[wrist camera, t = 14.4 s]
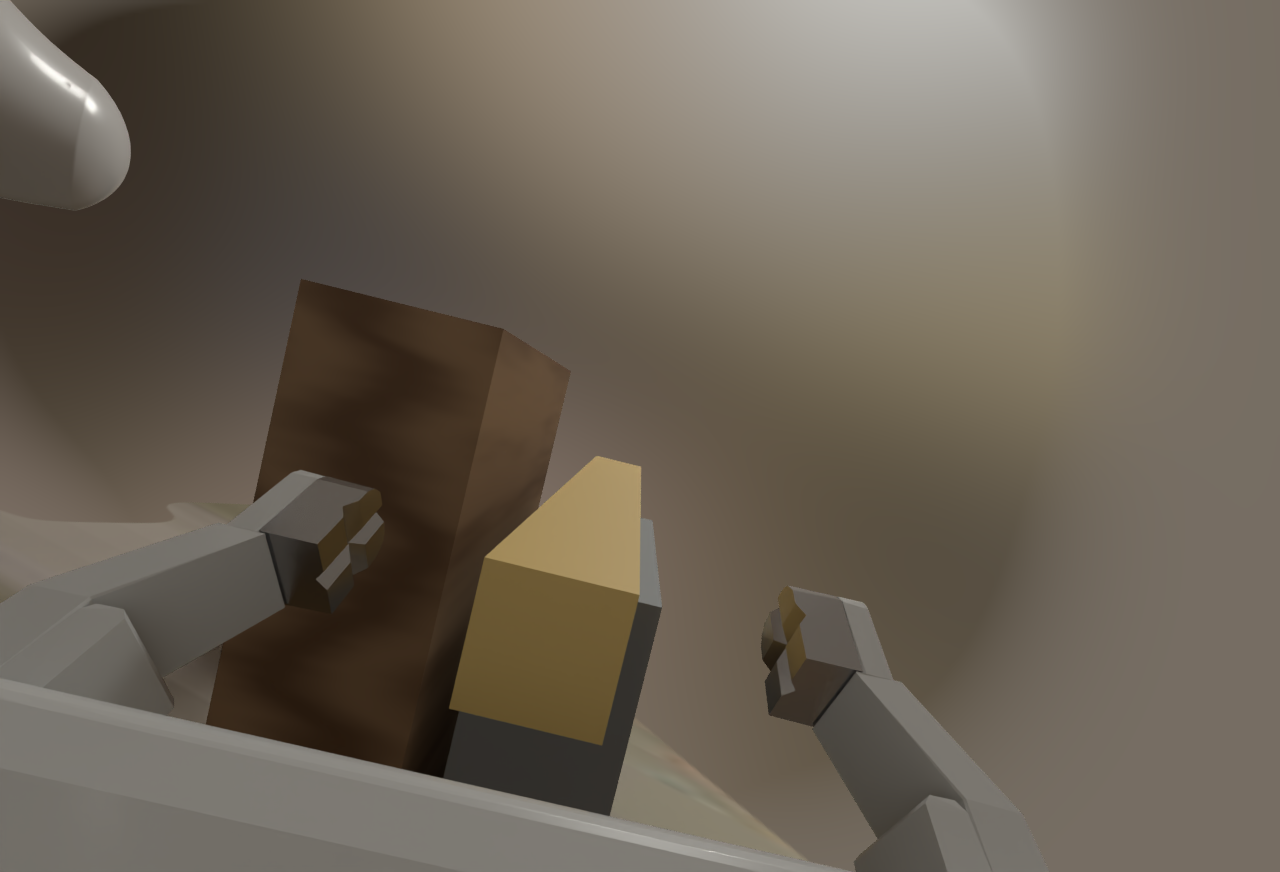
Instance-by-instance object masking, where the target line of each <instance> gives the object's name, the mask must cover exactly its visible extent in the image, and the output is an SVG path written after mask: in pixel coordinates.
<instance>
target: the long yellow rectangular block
mask: <svg viewBox="0 0 1280 872" xmlns="http://www.w3.org/2000/svg"><path fill="white" fill-rule="evenodd" d="M640 515H641V467H640V466H635V465H632V464H628V463H623V462H619V461H615V460H611V459H607V458H603V457H599V456H596V457H595V458H594V459H593V460H592V461H591V462H589V463H588V464H587V465H586V466H585V467H584V468H583V469H582V470H581V471H579V472H578V473H577V474H576V475H575V476H574V477H573V478H572V479H570V481H568V482H567V483H566V484H565V485H564V486H563V487H562V488H561V489H559V491H557V492H556V493H555V494H554V495H553V496H552V497H551V498H550V499H548V500H547V501H546V502H545V503H544V504H543V505H542V506H541V507H540V508H538V509H537V510H536V511H535V512H534V513H533V514H532V515H531V516H529V517H528V518H527V519H526V520H525V521H524V522H523V523H522V524H521V525H519V526H518V527H517V528H516V529H515V530H514V531H513V532H512V533H511V534H510V535H508V536H507V537H506V538H505V539H504V540H503V541H502V542H501V543H500V544H498V545H497V546H496V547H495V548H494V549H493V550H492V551H491V552H490V553H488V554H487V555H486V556H485V557H484V561H483V565H482V570H481V574H480V578H479V582H478V587H477V591H476V595H475V599H474V604H473V608H472V612H471V616H470V621H469V625H468V629H467V633H466V638H465V642H464V646H463V650H462V655H461V659H460V663H459V667H458V672H457V676H456V680H455V684H454V689H453V693H452V697H451V701H450V706H449V709H453V710H457V711H461V712H465V713H469V714H473V715H478V716H482V717H486V718H490V719H494V720H498V721H502V722H507V723H511V724H515V725H519V726H523V727H527V728H531V729H536V730H540V731H544V732H548V733H552V734H556V735H560V736H565V737H569V738H573V739H577V740H581V741H585V742H589V743H594V744H598V745H602V744H603V740H604V736H605V732H606V728H607V724H608V720H609V716H610V712H611V708H612V704H613V700H614V696H615V692H616V688H617V684H618V680H619V676H620V672H621V668H622V664H623V660H624V656H625V652H626V648H627V644H628V640H629V636H630V632H631V628H632V624H633V620H634V616H635V612H636V608H637V604H638V600H639V596H640V517H641V516H640Z"/></svg>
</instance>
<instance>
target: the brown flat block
mask: <svg viewBox="0 0 1280 872" xmlns="http://www.w3.org/2000/svg"><path fill="white" fill-rule="evenodd" d="M569 377H570V370H568V369H566V368H565V367H563V366H561V365H560V364H558V363H557V362H555V361H554V360H552V359H550V358H549V357H547V356H546V355H544V354H542V353H541V352H539V351H538V350H536V349H534V348H533V347H531V346H530V345H528V344H527V343H525V342H523V341H522V340H520V339H518V338H517V337H515V336H514V335H512V334H511V333H509V332H507V331H506V330H504V329H501V328H497V327H493V326H489V325H485V324H481V323H477V322H472V321H469V320H465V319H461V318H457V317H453V316H449V315H445V314H441V313H436V312H433V311H428V310H424V309H420V308H416V307H412V306H408V305H404V304H400V303H396V302H392V301H388V300H384V299H380V298H375V297H372V296H367V295H363V294H360V293H355V292H352V291H348V290H343V289H339V288H335V287H331V286H327V285H323V284H319V283H315V282H311V281H307V280H302V279H301V282H300V286H299V291H298V296H297V301H296V305H295V310H294V315H293V319H292V324H291V328H290V333H289V338H288V343H287V347H286V352H285V357H284V362H283V366H282V371H281V375H280V380H279V385H278V389H277V394H276V399H275V403H274V408H273V413H272V417H271V422H270V427H269V431H268V436H267V441H266V446H265V451H264V455H263V460H262V464H261V469H260V474H259V479H258V483H257V488H256V492H255V497H254V502H255V501H257V500H258V499H259V498H260V497H261V496H263V495H264V494H265V493H266V492H268V491H269V490H270V489H271V488H273V487H274V486H275V485H276V484H278V483H279V482H280V481H281V480H283V479H284V478H285V477H286V476H288V475H289V474H290V473H292V472H295V471H299V470H303V471H307V472H311V473H314V474H318V475H322V476H328V477H332V478H336V479H339V480H343V481H347V482H351V483H355V484H359V485H362V486H366V487H370V488H374V489H376V490H378V491H380V493H381V499H382V506H381V507H380V508H379V509H378V510H377V512H376V513H377V514H378V515H379V516H380V517H381V519H382V520H383V521H384V528H385V532H384V539H383V543H382V545H381V548H380V550H379V552H378V554H377V557H376V558H375V559H374V561H373V562H372V563H371V565H370V566H369V567H368V568H367V569H365V570H362V571H360V572H358V573H356V574H354V575H353V580H354V586H353V588H352V589H351V590H350V592H349V593H348V594H347V595H346V597H345V598H344V599H343V600H342V602H341V603H340V604H339V605H338V607H337V608H336V609H335V611H334V612H333V613H332V614H329V613H324V612H319V611H314V610H309V609H304V608H299V607H294V606H289V605H285V608H283V609H282V610H280V611H278V612H276V613H275V614H273V615H271V616H269V617H268V618H266V619H264V620H262V621H261V622H259V623H257V624H255V625H254V626H252V627H250V628H248V629H247V630H245V631H243V632H241V633H240V634H238V635H236V636H234V637H233V638H231V639H229V640H227V641H226V642H224V643H223V647H222V651H221V656H220V661H219V666H218V670H217V675H216V680H215V684H214V689H213V694H212V698H211V703H210V708H209V712H208V717H207V722H206V725H210V726H215V727H219V728H223V729H228V730H232V731H237V732H241V733H245V734H250V735H254V736H259V737H263V738H267V739H272V740H276V741H281V742H285V743H290V744H294V745H298V746H303V747H307V748H312V749H316V750H320V751H325V752H329V753H334V754H338V755H342V756H347V757H351V758H356V759H360V760H364V761H369V762H373V763H378V764H382V765H387V766H391V767H395V768H400V769H404V770H409V771H413V772H417V773H422V774H426V775H431V776H435V777H439V778H443V777H444V773H445V768H446V764H447V760H448V756H449V752H450V747H451V743H452V739H453V735H454V730H455V726H456V722H457V718H458V713H459V711H457V710H453V709H449V706H450V701H451V697H452V693H453V689H454V684H455V680H456V676H457V672H458V667H459V663H460V659H461V655H462V650H463V646H464V642H465V638H466V633H467V629H468V625H469V621H470V616H471V612H472V608H473V604H474V599H475V595H476V591H477V587H478V582H479V578H480V574H481V570H482V565H483V561H484V557H485V556H486V555H487V554H488V553H490V552H491V551H492V550H493V549H494V548H495V547H496V546H497V545H498V544H500V543H501V542H502V541H503V540H504V539H505V538H506V537H507V536H508V535H510V534H511V533H512V532H513V531H514V530H515V529H516V528H517V527H518V526H519V525H521V524H522V523H523V522H524V521H525V520H526V519H527V518H528V517H529V516H531V515H532V514H533V513H534V512H535V511H536V510H537V509H538V507H539V502H540V498H541V494H542V490H543V486H544V481H545V477H546V473H547V469H548V465H549V461H550V457H551V452H552V448H553V444H554V440H555V436H556V431H557V427H558V423H559V419H560V415H561V410H562V406H563V402H564V398H565V394H566V389H567V385H568V381H569ZM254 502H253V503H254Z"/></svg>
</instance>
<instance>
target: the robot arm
mask: <svg viewBox="0 0 1280 872" xmlns="http://www.w3.org/2000/svg"><path fill="white" fill-rule="evenodd" d="M130 156H131V148H130V140H129V135H128V131H127V128H126V125H125V123H124V120H123V118H122V116H121V113H120V112H119V110H118V108H117V106H116V104H115V103H114V101H113V100H112V98H111V97H110V96H109V94H108V92H107V91H106V90H105V89H104V87H103V86H102V85H101V84H100V82H99V81H98V80H97V79H96V78H94V77H93V76H92V75H90V74H89V73H88V72H86V71H85V70H84V69H83V68H81V67H80V66H79V65H77V64H76V63H75V62H74V61H73V60H71V59H70V58H69V57H68V56H66V55H65V54H64V53H63V52H62V51H61V50H60V49H58V48H57V47H56V46H55V45H54V44H53V43H51V42H50V41H49V40H48V39H47V38H46V37H45V36H44V35H43V34H42V33H41V32H40V31H39V30H38V29H37V28H35V26H34V25H33V24H32V23H31V22H30V21H29V20H28V19H27V18H26V17H25V16H24V15H23V14H22V13H21V12H20V11H19V10H18V8H17V7H15V5H14V4H13V3H12V2H11V1H10V0H0V198H6V199H11V200H15V201H21V202H26V203H32V204H38V205H44V206H51V207H57V208H63V209H70V210H79V209H83V208H86V207H89V206H91V205H94V204H96V203H98V202H100V201H102V200H103V199H105V198H107V197H108V196H109V195H110V194H112V193H113V192H114V191H115V190H116V189H117V188H118V187H119V186H120V184H121V183H122V181H123V180H124V178H125V176H126V173H127V171H128V168H129V164H130ZM381 506H382V499H381V493H380V491H378V490H376V489H374V488H370V487H366V486H362V485H359V484H355V483H351V482H347V481H343V480H339V479H336V478H332V477H328V476H322V475H318V474H314V473H311V472H307V471H303V470H299V471H295V472H292V473H290V474H289V475H288V476H286V477H285V478H284V479H283V480H281V481H280V482H279V483H278V484H276V485H275V486H274V487H273V488H271V489H270V490H269V491H268V492H266V493H265V494H264V495H263V496H261V497H260V498H259V499H258V500H257V501H255V502H254V503H253V504H252V505H250V506H249V507H248V508H247V509H245V510H244V511H243V512H242V513H240V514H239V515H238V516H237V517H235V518H234V519H233V520H232V521H230V522H229V523H228V524H222V523H216V524H213V525H210V526H207V527H204V528H201V529H198V530H194V531H191V532H188V533H185V534H182V535H179V536H176V537H173V538H170V539H167V540H164V541H161V542H158V543H155V544H152V545H149V546H146V547H143V548H140V549H136V550H133V551H130V552H127V553H124V554H121V555H118V556H115V557H112V558H109V559H106V560H103V561H100V562H97V563H94V564H91V565H88V566H85V567H82V568H79V569H75V570H72V571H69V572H66V573H63V574H60V575H57V576H54V577H51V578H48V579H45V580H42V581H39V582H36V583H33V584H30V585H28V586H26V587H25V588H23V589H22V590H20V591H19V592H17V593H16V594H14V595H13V596H11V597H10V598H8V599H7V600H5V601H4V602H2V603H1V604H0V872H853V871H848V870H843V869H839V868H835V867H830V866H826V865H822V864H817V863H813V862H809V861H804V860H800V859H795V858H791V857H787V856H782V855H778V854H773V853H769V852H765V851H760V850H756V849H751V848H747V847H743V846H738V845H734V844H729V843H725V842H721V841H716V840H712V839H707V838H703V837H699V836H694V835H690V834H685V833H681V832H677V831H672V830H668V829H663V828H659V827H655V826H650V825H646V824H642V823H637V822H633V821H628V820H624V819H620V818H615V817H611V816H606V815H602V814H598V813H593V812H589V811H584V810H580V809H576V808H571V807H567V806H562V805H558V804H554V803H549V802H545V801H540V800H536V799H532V798H527V797H523V796H518V795H514V794H510V793H505V792H501V791H496V790H492V789H488V788H483V787H479V786H474V785H470V784H466V783H461V782H457V781H453V780H448V779H444V778H439V777H435V776H431V775H426V774H422V773H417V772H413V771H409V770H404V769H400V768H395V767H391V766H387V765H382V764H378V763H373V762H369V761H364V760H360V759H356V758H351V757H347V756H342V755H338V754H334V753H329V752H325V751H320V750H316V749H312V748H307V747H303V746H298V745H294V744H290V743H285V742H281V741H276V740H272V739H267V738H263V737H259V736H254V735H250V734H245V733H241V732H237V731H232V730H228V729H223V728H219V727H215V726H210V725H206V724H201V723H197V722H193V721H188V720H184V719H179V718H175V717H170V716H167V715H168V714H169V712H170V711H171V710H172V709H173V708H174V698H173V696H172V695H171V693H170V691H169V689H168V687H167V686H166V684H165V682H164V680H163V677H165V676H166V675H168V674H170V673H172V672H173V671H175V670H177V669H179V668H180V667H182V666H184V665H186V664H187V663H189V662H191V661H193V660H194V659H196V658H198V657H200V656H201V655H203V654H205V653H207V652H208V651H210V650H212V649H214V648H215V647H217V646H219V645H220V644H222V643H224V642H226V641H227V640H229V639H231V638H233V637H234V636H236V635H238V634H240V633H241V632H243V631H245V630H247V629H248V628H250V627H252V626H254V625H255V624H257V623H259V622H261V621H262V620H264V619H266V618H268V617H269V616H271V615H273V614H275V613H276V612H278V611H280V610H282V609H283V608H285V605H289V606H294V607H299V608H304V609H309V610H314V611H319V612H324V613H329V614H332V613H333V612H334V611H335V609H336V608H337V607H338V605H339V604H340V603H341V602H342V600H343V599H344V598H345V597H346V595H347V594H348V593H349V592H350V590H351V589H352V588H353V586H354V580H353V575H354V574H356V573H358V572H360V571H362V570H365V569H367V568H368V567H369V566H370V565H371V563H372V562H373V561H374V559H375V558H376V557H377V554H378V552H379V550H380V548H381V545H382V543H383V539H384V532H385V528H384V521H383V520H382V519H381V517H380V516H379V515H378V514H377V513H376V512H377V510H378V509H379V508H380V507H381ZM778 602H779V608H778V609H776V610H774V611H772V612H770V613H769V616H768V618H767V619H766V622H765V624H764V629H763V633H762V643H761V650H762V659H763V661H764V663H765V664H766V665H767V667H768V668H769V669H770V671H771V672H770V674H769V675H768V677H767V679H766V680H765V686H766V695H767V703H768V711H769V715H770V716H774V717H777V718H781V719H785V720H789V721H793V722H797V723H801V724H805V725H808V726H813V731H814V733H815V734H816V736H817V738H818V740H819V741H820V743H821V745H822V746H823V748H824V750H825V751H826V753H827V755H828V756H829V758H830V760H831V761H832V763H833V765H834V766H835V768H836V770H837V771H838V773H839V775H840V776H841V778H842V780H843V782H844V783H845V785H846V787H847V788H848V790H849V791H850V793H851V795H852V796H853V798H854V800H855V802H856V803H857V805H858V806H859V808H860V810H861V812H862V813H863V815H864V817H865V818H866V820H867V822H868V823H869V825H870V827H871V828H872V830H873V832H874V833H875V835H876V837H877V838H878V839H877V840H876V841H875V842H874V843H873V844H872V845H870V846H869V847H868V848H867V849H866V850H864V851H863V852H862V853H861V854H860V855H859V856H858V857H857V858H856V860H855V861H854V865H855V870H856V872H1049V869H1048V867H1047V865H1046V864H1045V861H1044V859H1043V857H1042V854H1041V852H1040V850H1039V848H1038V846H1037V844H1036V842H1035V840H1034V837H1033V835H1032V833H1031V831H1030V829H1029V827H1028V825H1027V823H1026V821H1025V818H1024V816H1023V814H1022V813H1021V812H1020V811H1019V810H1018V809H1017V808H1016V807H1015V805H1013V803H1012V802H1011V801H1010V800H1009V799H1008V798H1007V797H1006V796H1005V795H1004V794H1003V792H1002V791H1001V790H999V788H998V787H997V786H996V785H995V784H994V783H993V782H992V781H991V779H989V777H988V776H987V775H986V774H985V773H984V772H983V771H982V770H981V768H979V766H978V765H977V764H976V763H975V762H974V761H973V760H972V759H971V758H970V757H969V756H968V754H967V753H966V752H965V751H964V750H963V749H962V748H961V747H960V746H959V745H958V744H957V742H956V741H955V740H954V739H953V738H952V737H951V736H950V735H949V734H948V733H947V731H945V729H944V728H943V727H942V726H941V725H940V724H939V723H938V722H937V721H936V720H935V718H934V717H933V716H932V715H931V714H930V713H929V712H928V711H927V710H926V709H925V708H924V706H923V705H922V704H921V703H920V702H919V701H918V700H917V699H916V698H915V697H914V696H913V695H912V693H910V691H909V690H908V689H907V688H906V687H905V686H904V685H903V684H902V682H899V681H895V680H893V678H892V675H891V672H890V669H889V667H888V664H887V661H886V658H885V656H884V653H883V650H882V647H881V644H880V641H879V639H878V636H877V633H876V630H875V628H874V625H873V622H872V619H871V616H870V613H869V611H868V608H867V607H866V605H865V604H864V603H862V602H859V601H854V600H850V599H845V598H841V597H835V596H832V595H827V594H823V593H818V592H814V591H809V590H805V589H800V588H796V587H792V586H786V587H785V588H784V589H783V590H782V591H781V594H780V595H779V597H778Z"/></svg>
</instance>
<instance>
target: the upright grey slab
mask: <svg viewBox="0 0 1280 872" xmlns="http://www.w3.org/2000/svg"><path fill="white" fill-rule="evenodd" d="M661 609H662V603H661V594H660V585H659V576H658V567H657V559H656V550H655V540H654V531H653V523H652V520H648V519H644V518H640V596H639V600H638V604H637V608H636V612H635V616H634V620H633V624H632V628H631V632H630V636H629V640H628V644H627V648H626V652H625V656H624V660H623V664H622V668H621V672H620V676H619V680H618V684H617V688H616V692H615V696H614V700H613V704H612V708H611V712H610V716H609V720H608V724H607V728H606V732H605V736H604V740H603V744H602V745H598V744H594V743H589V742H585V741H581V740H577V739H573V738H569V737H565V736H560V735H556V734H552V733H548V732H544V731H540V730H536V729H531V728H527V727H523V726H519V725H515V724H511V723H507V722H502V721H498V720H494V719H490V718H486V717H482V716H478V715H473V714H469V713H465V712H461V711H459V713H458V718H457V722H456V726H455V730H454V735H453V739H452V743H451V747H450V752H449V756H448V760H447V764H446V768H445V773H444V777H443V778H444V779H448V780H453V781H457V782H461V783H466V784H470V785H474V786H479V787H483V788H488V789H492V790H496V791H501V792H505V793H510V794H514V795H518V796H523V797H527V798H532V799H536V800H540V801H545V802H549V803H554V804H558V805H562V806H567V807H571V808H576V809H580V810H584V811H589V812H593V813H598V814H602V815H606V816H610V812H611V808H612V804H613V800H614V796H615V792H616V788H617V784H618V780H619V776H620V772H621V768H622V764H623V760H624V756H625V752H626V748H627V744H628V740H629V737H630V733H631V729H632V725H633V721H634V717H635V713H636V708H637V705H638V701H639V697H640V693H641V689H642V684H643V681H644V676H645V673H646V669H647V664H648V661H649V657H650V653H651V649H652V645H653V641H654V637H655V633H656V629H657V625H658V621H659V617H660V613H661Z"/></svg>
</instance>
